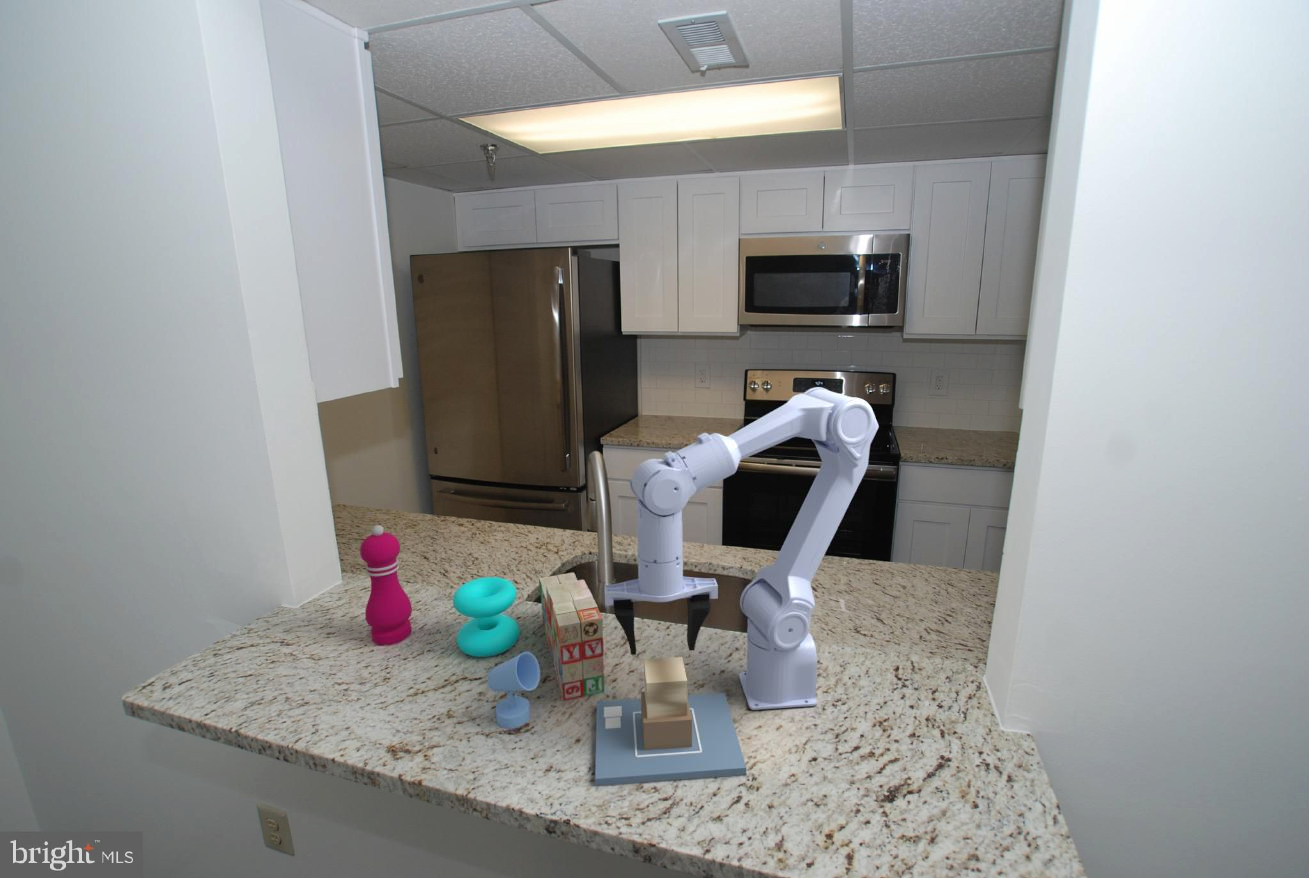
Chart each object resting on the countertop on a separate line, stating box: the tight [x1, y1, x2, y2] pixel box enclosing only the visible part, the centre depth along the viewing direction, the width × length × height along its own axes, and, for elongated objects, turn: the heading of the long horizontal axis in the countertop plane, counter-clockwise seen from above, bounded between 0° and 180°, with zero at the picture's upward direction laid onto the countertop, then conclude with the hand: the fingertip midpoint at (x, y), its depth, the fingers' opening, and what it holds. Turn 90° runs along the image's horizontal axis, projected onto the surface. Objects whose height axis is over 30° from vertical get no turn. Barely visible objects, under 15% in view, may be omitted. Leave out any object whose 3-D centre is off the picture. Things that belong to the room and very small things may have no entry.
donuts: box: [452, 576, 521, 658], centre depth 102 cm, size 10×10×10 cm
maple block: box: [643, 656, 688, 719], centre depth 79 cm, size 5×5×5 cm
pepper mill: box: [359, 524, 413, 646], centre depth 103 cm, size 7×7×20 cm
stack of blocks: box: [538, 572, 606, 702], centre depth 97 cm, size 21×6×12 cm, turn 18°
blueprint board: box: [594, 691, 747, 787], centre depth 80 cm, size 18×14×5 cm
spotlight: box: [487, 651, 541, 729], centre depth 84 cm, size 5×10×7 cm
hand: (662, 648), depth 82 cm, fingers open, 7 cm apart
